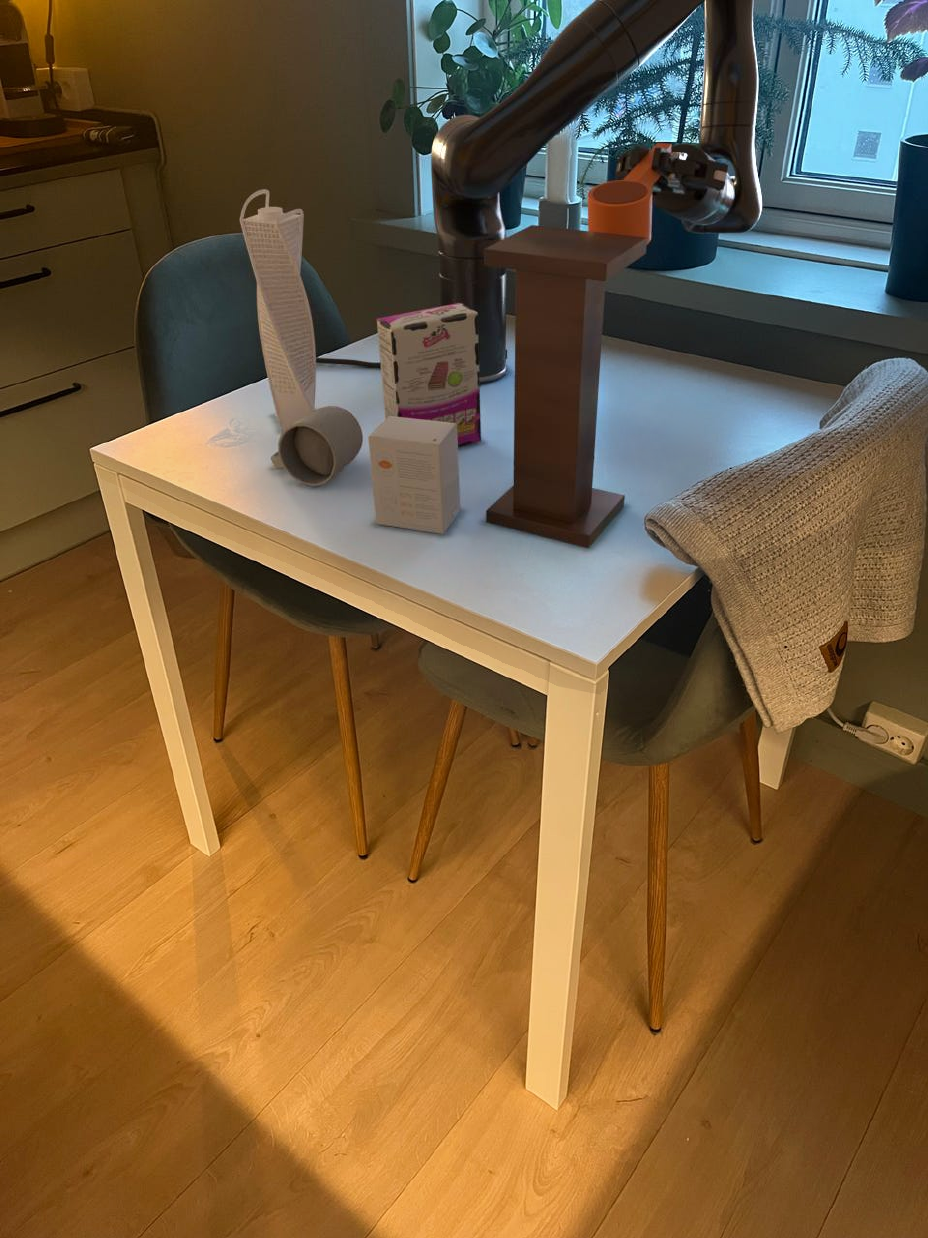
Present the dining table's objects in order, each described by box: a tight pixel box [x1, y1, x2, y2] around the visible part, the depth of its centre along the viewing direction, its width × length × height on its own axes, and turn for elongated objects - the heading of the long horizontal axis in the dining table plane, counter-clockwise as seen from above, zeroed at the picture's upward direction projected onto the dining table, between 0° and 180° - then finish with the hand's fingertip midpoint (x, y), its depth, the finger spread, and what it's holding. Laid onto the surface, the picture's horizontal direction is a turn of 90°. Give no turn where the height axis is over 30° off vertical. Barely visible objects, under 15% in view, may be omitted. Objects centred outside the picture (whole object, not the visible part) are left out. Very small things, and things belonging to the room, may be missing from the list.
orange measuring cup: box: [587, 142, 672, 245], centre depth 100 cm, size 16×6×5 cm, turn 151°
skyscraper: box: [239, 188, 317, 433], centre depth 119 cm, size 8×7×28 cm
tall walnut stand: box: [484, 224, 648, 549], centre depth 97 cm, size 10×12×28 cm
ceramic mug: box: [270, 405, 364, 487], centre depth 113 cm, size 11×8×8 cm
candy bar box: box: [376, 303, 482, 448], centre depth 115 cm, size 11×5×16 cm, turn 117°
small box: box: [367, 416, 462, 535], centre depth 102 cm, size 8×6×10 cm
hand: (646, 157), depth 99 cm, fingers closed on orange measuring cup
